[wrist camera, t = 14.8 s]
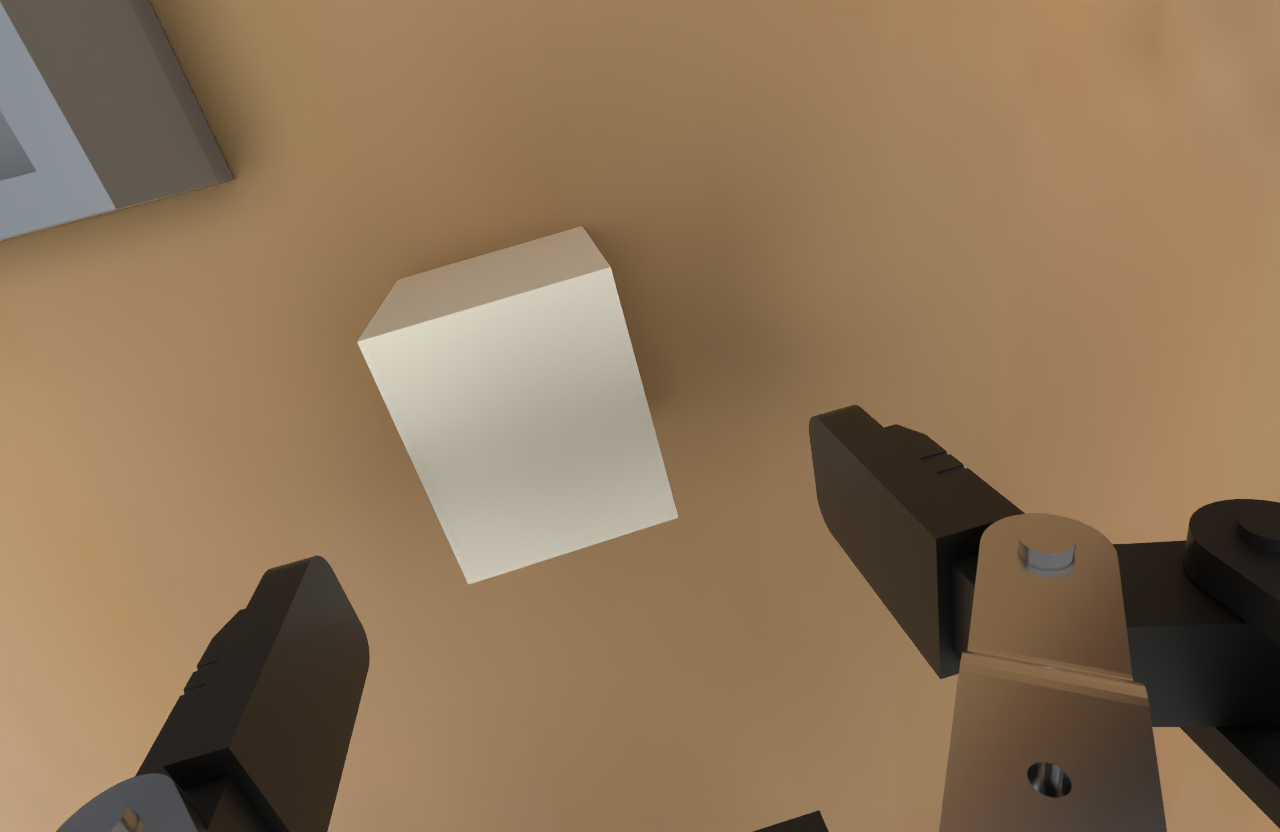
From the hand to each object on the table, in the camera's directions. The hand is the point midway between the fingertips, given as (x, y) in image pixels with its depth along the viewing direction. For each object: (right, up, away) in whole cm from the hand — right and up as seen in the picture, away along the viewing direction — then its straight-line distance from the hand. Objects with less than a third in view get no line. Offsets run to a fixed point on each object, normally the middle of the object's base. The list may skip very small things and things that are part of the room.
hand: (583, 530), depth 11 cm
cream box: (-2, +4, +8) cm, 9 cm away
